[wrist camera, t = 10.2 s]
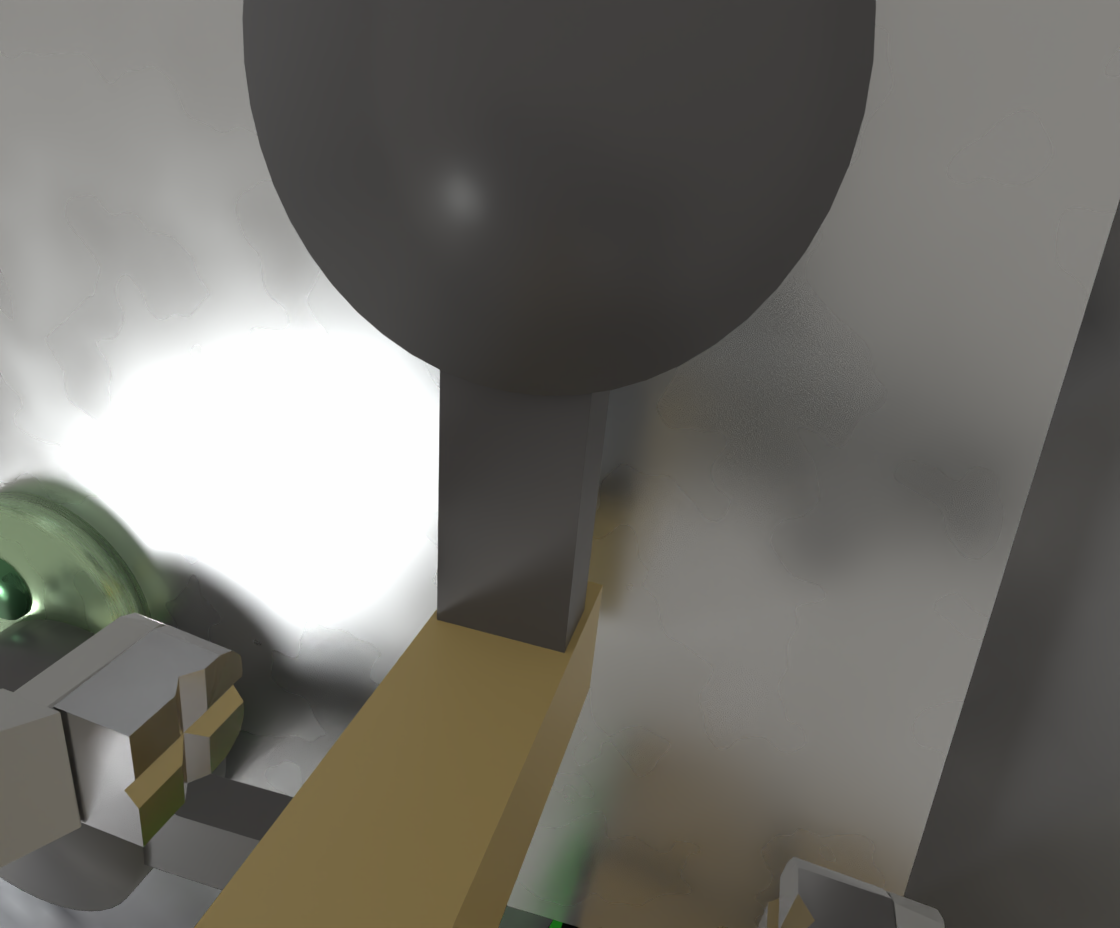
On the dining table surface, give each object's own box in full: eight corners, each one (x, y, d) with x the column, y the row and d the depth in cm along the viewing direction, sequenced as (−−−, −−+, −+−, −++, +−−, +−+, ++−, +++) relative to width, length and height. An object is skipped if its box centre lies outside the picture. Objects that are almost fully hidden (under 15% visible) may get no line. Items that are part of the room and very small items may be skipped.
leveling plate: (859, 918, 16) (870, 1064, 14) (105, 714, 21) (12, 792, 19) (1280, -588, 7) (1543, -978, 5) (-210, -310, 12) (-471, -423, 10)
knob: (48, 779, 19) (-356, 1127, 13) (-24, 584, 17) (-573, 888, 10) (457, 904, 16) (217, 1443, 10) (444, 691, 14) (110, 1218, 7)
